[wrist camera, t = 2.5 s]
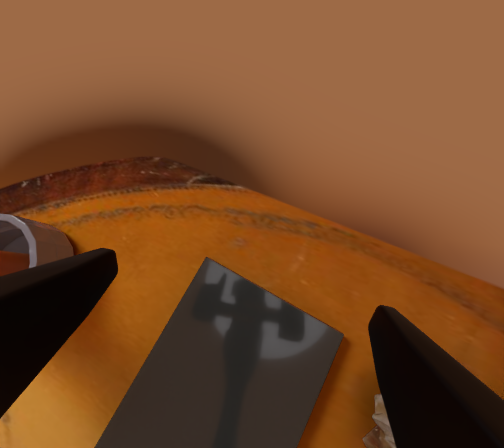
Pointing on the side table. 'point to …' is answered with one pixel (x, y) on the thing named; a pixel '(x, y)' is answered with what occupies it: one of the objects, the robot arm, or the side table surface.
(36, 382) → the side table surface
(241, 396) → the slate board
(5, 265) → the carrot
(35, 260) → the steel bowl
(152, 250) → the side table surface
